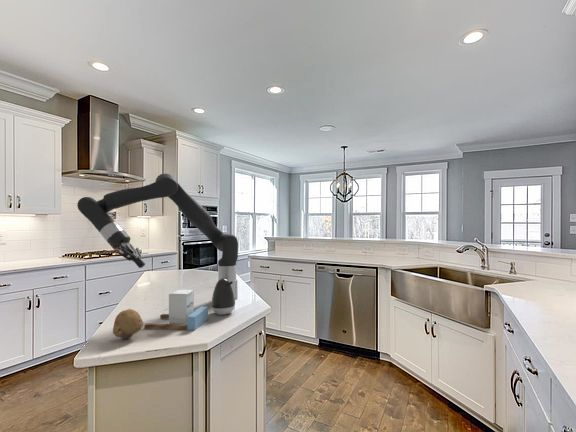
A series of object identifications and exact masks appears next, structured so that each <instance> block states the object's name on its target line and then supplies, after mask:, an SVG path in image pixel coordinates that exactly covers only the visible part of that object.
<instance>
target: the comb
mask: <svg viewBox="0 0 576 432" xmlns="http://www.w3.org/2000/svg"><path fill="white" fill-rule="evenodd" d="M159 316H160V319H163V320H165V319H166V320H169V313H161V314H160V315H159ZM143 326H144V327H143V329H147V330H177V331H181V330H182V331H188V330H187V324H169V323H151V322H150V323H149V322H148V323H147V322H146V323H145V324H143Z"/></svg>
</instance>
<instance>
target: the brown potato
mask: <svg viewBox="0 0 576 432" xmlns="http://www.w3.org/2000/svg"><path fill="white" fill-rule="evenodd" d="M143 326H144V321H143V319H142V316H141V315H140V314H139V312H138V311H136V310H135V309H131V308H128V309H125V310H121V311H120V312H119V313H118V314H117V315H116V316H115V319H114V323H113V328H112V333H113V336H115V337H117V338H120V339H124V340H127V339H128V340H129V339H130V338H132V337H133V336H134V335H135V334H137V333H139V332H140V331H141V330H142V329H143V328H144V327H143Z"/></svg>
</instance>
